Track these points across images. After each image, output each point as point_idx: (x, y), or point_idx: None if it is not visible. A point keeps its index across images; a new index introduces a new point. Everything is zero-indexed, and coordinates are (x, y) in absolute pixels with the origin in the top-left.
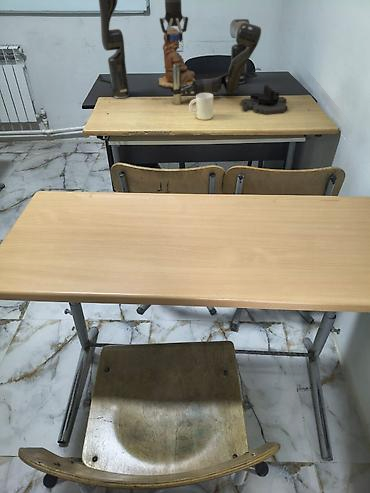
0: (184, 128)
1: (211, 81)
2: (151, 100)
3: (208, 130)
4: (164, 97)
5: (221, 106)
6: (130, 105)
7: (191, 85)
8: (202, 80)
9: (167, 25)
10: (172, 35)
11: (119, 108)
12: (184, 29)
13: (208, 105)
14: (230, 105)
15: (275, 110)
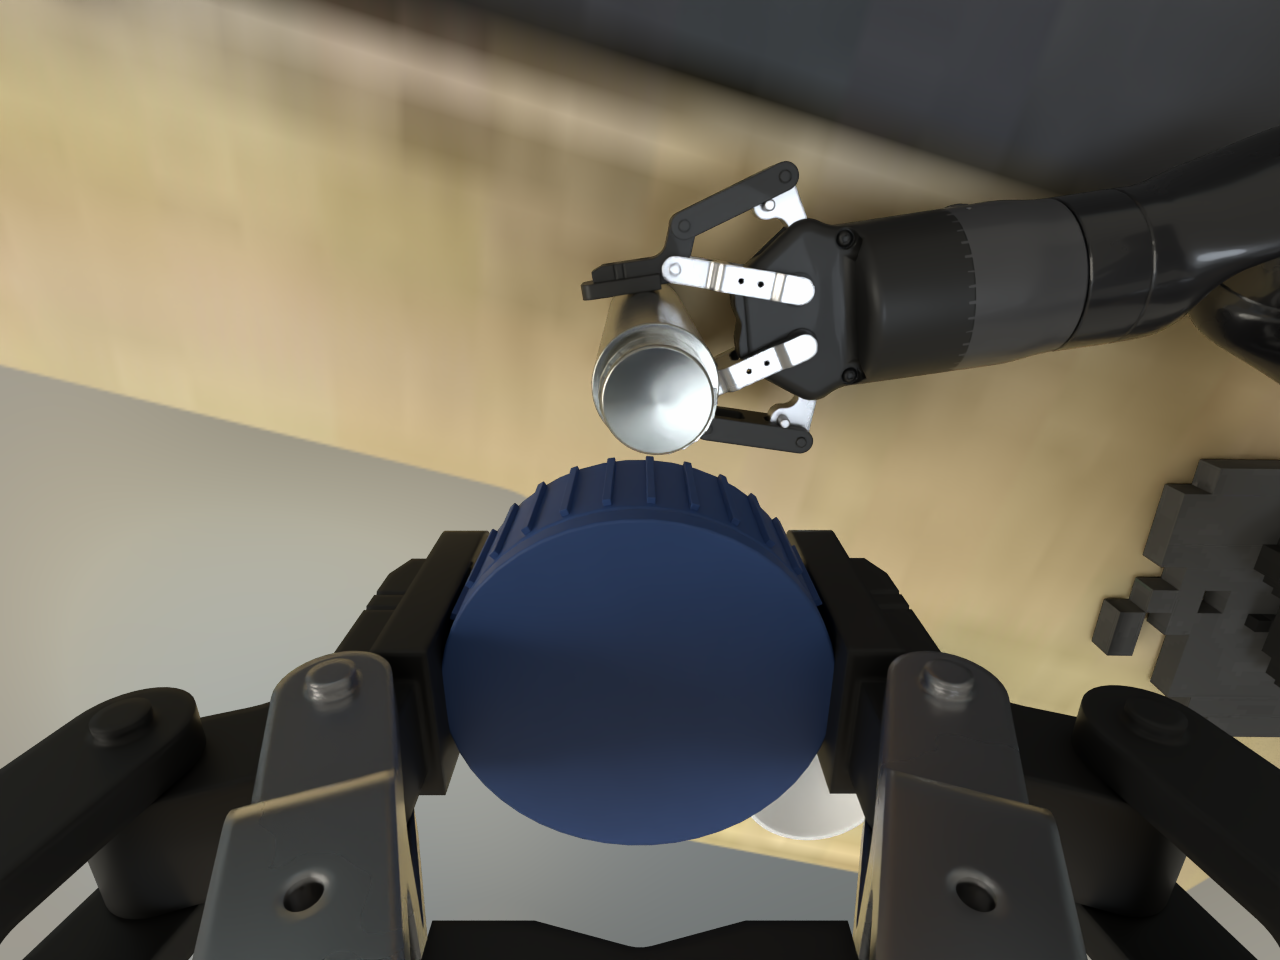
0: None
1: (1079, 319)
2: (394, 161)
3: (739, 841)
4: (536, 94)
5: (984, 499)
6: (191, 263)
7: (832, 275)
8: (976, 320)
9: (219, 879)
10: (551, 814)
11: (99, 321)
12: (1088, 916)
13: (810, 792)
14: (1063, 496)
15: (1276, 734)
